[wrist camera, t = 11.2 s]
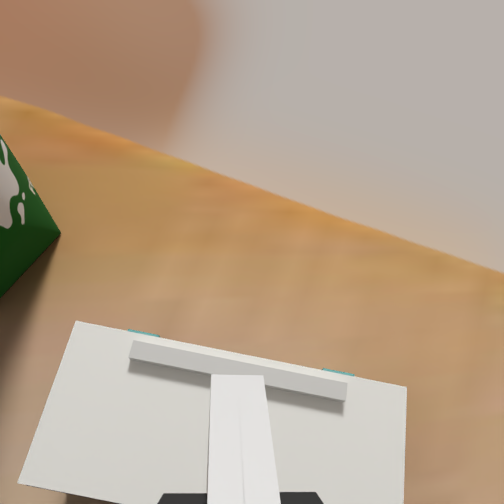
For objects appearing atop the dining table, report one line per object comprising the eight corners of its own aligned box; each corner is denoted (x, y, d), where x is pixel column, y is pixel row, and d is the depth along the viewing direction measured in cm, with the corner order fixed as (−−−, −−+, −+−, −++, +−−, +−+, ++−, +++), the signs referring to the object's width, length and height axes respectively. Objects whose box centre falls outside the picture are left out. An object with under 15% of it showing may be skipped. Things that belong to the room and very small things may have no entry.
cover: (24, 482, 20) (11, 483, 19) (79, 325, 23) (72, 316, 22) (394, 556, 20) (407, 562, 19) (400, 390, 23) (411, 384, 22)
